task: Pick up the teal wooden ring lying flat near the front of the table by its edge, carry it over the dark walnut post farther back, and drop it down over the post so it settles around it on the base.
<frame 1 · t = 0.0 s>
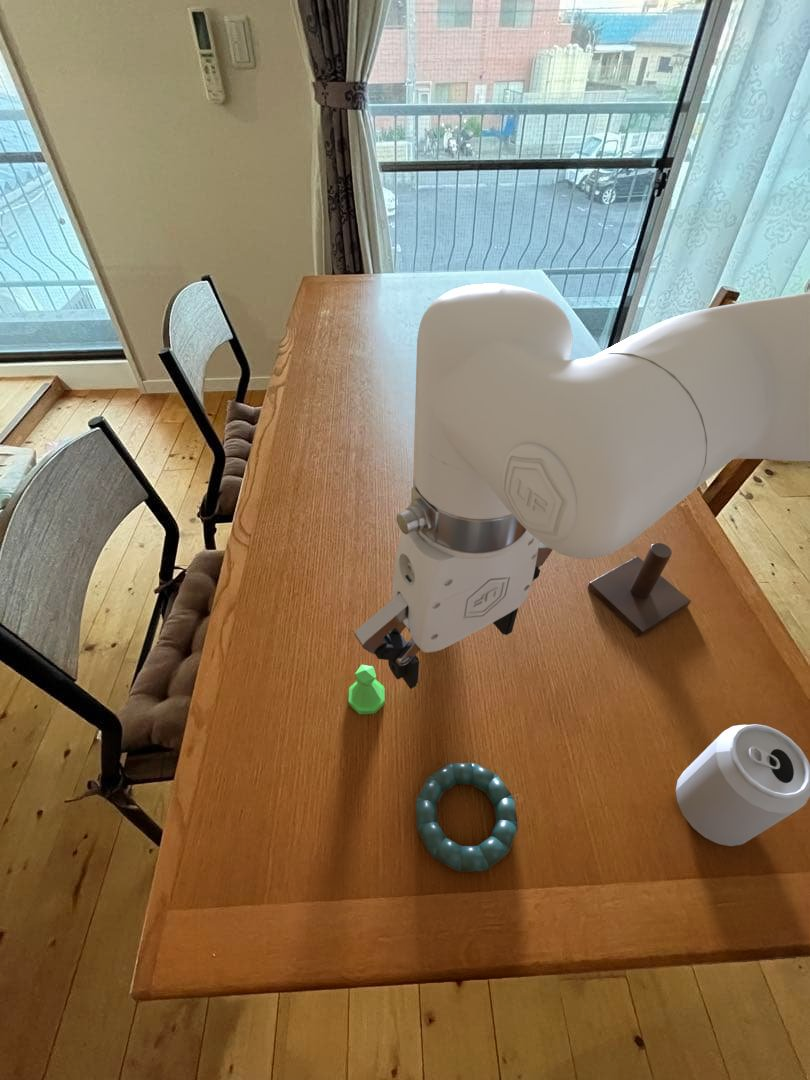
hand: (452, 647, 47), 17 cm above the table, tool pointing down, fingers open, 9 cm apart
can: (711, 807, 55), on the table
game piece: (367, 698, 62), on the table
post: (636, 597, 72), on the table
ring: (466, 814, 53), point 1 cm above the table
lemon: (441, 578, 74), on the table
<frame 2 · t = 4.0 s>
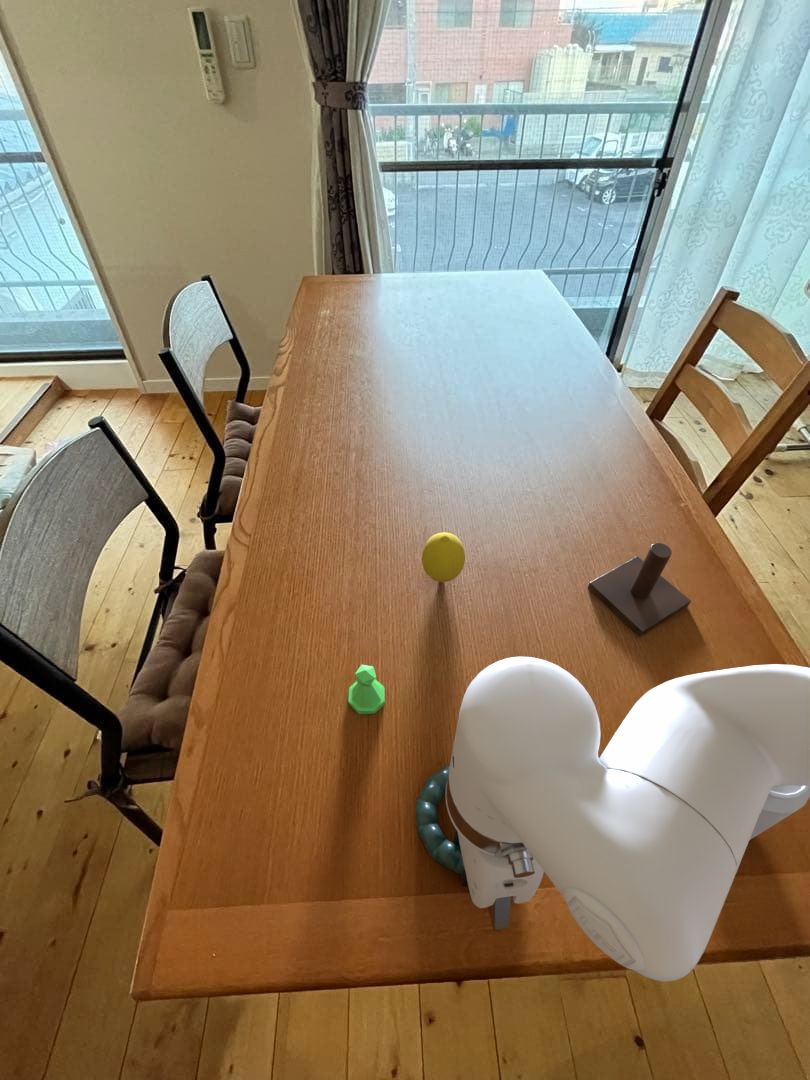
hand: (474, 860, 51), 0 cm above the table, tool pointing down, fingers closed on ring, 2 cm apart
ring: (466, 815, 53), point 1 cm above the table, touching gripper
everything else where it was.
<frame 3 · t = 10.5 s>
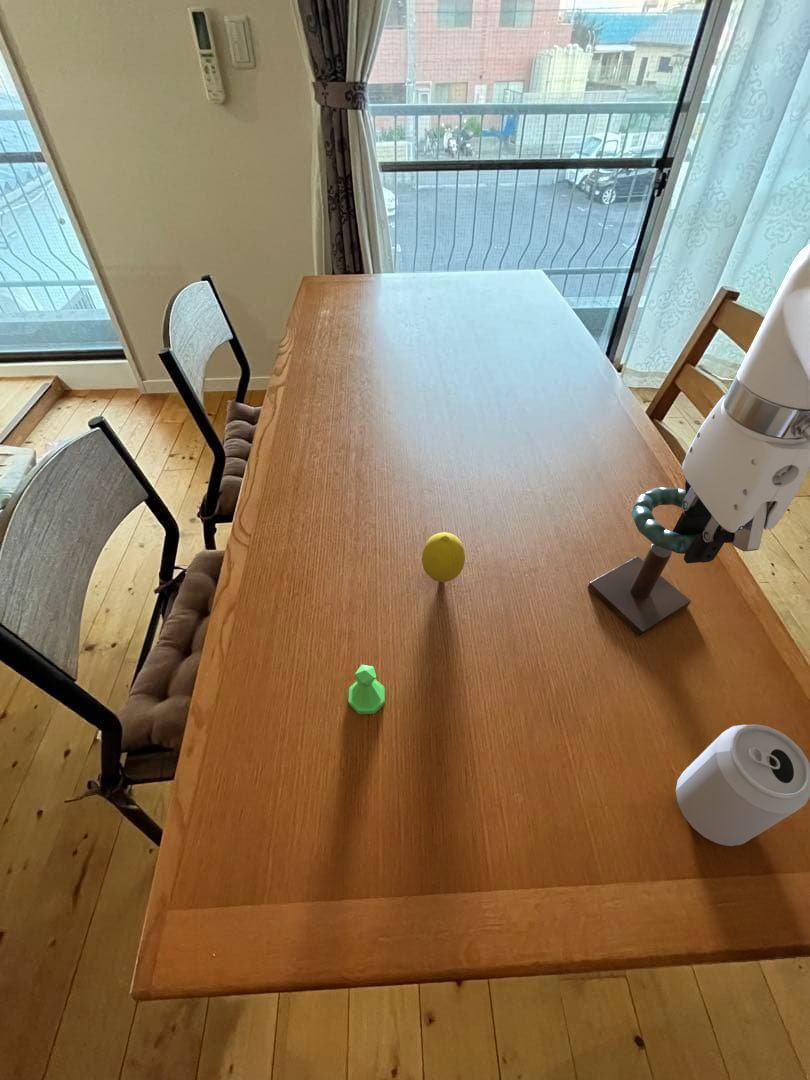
hand: (690, 548, 60), 13 cm above the table, tool pointing down, fingers closed on ring, 2 cm apart
ring: (677, 519, 62), point 14 cm above the table, touching gripper
everything else where it was.
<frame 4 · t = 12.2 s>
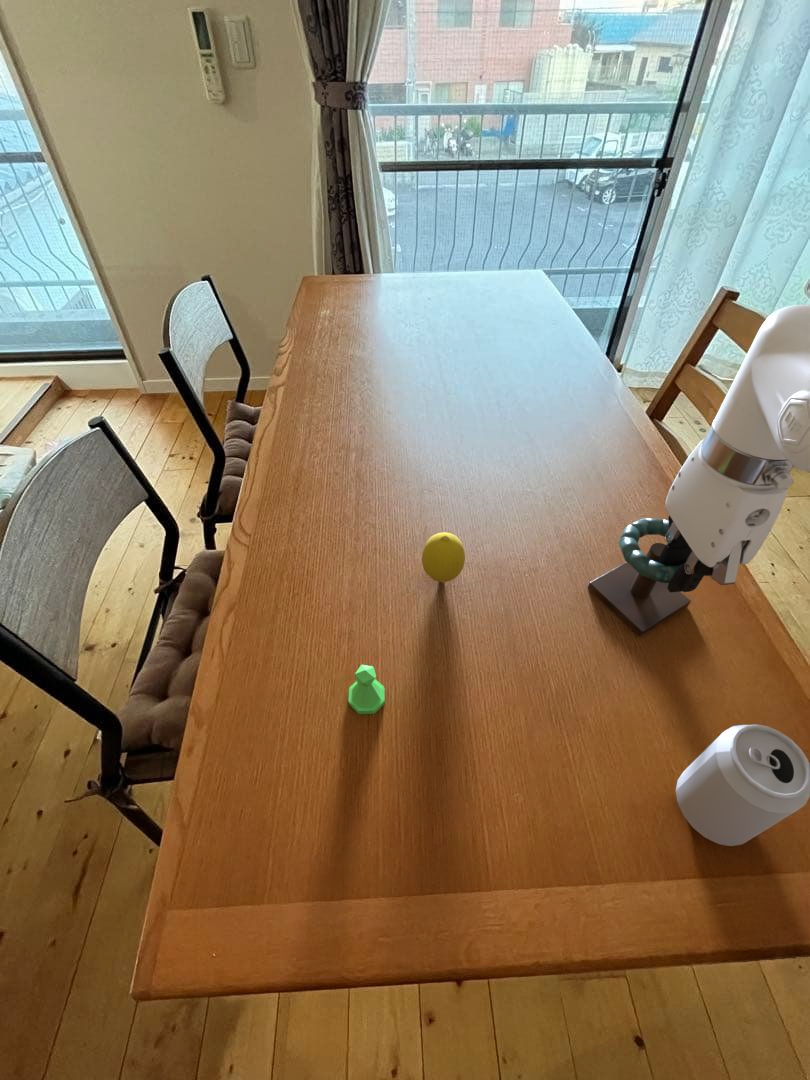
hand: (674, 577, 64), 9 cm above the table, tool pointing down, fingers closed on ring, 2 cm apart
ring: (662, 549, 65), point 9 cm above the table, touching gripper
everything else where it was.
when the fingers open (11 cm above the table, at t = 17.4 s): ring drops 10 cm, resting on post.
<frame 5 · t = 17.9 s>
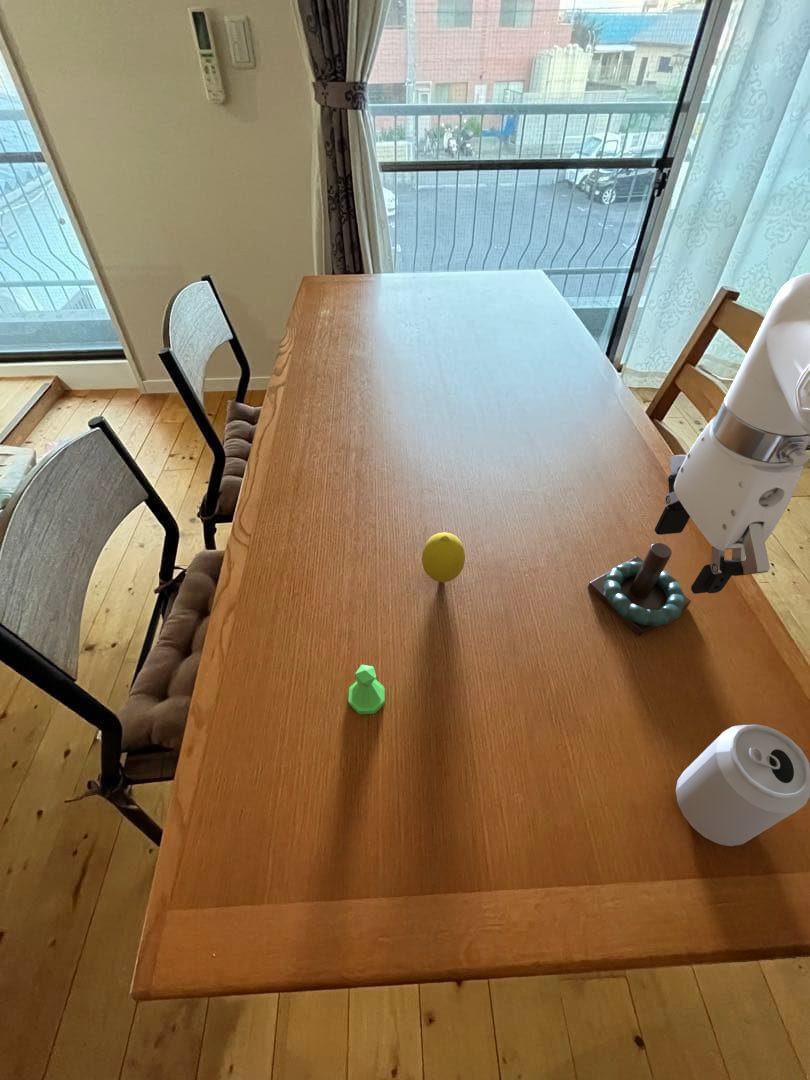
hand: (685, 559, 61), 12 cm above the table, tool pointing down, fingers open, 8 cm apart
ring: (643, 592, 70), point 2 cm above the table, touching post
everything else where it was.
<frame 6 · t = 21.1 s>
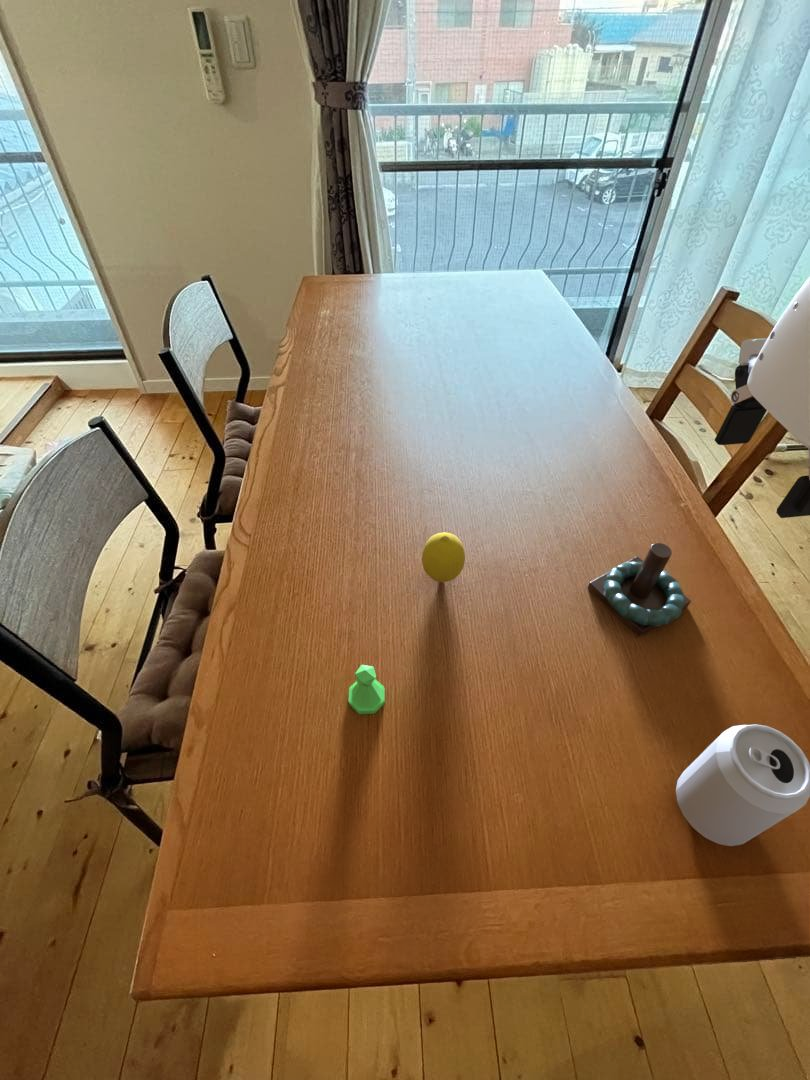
hand: (760, 475, 49), 26 cm above the table, tool pointing down, fingers open, 9 cm apart
nothing on the table moved.
at the end: ring 0.9 cm from the post (horizontally); ring point 2.2 cm above the table; the gripper is holding nothing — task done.
